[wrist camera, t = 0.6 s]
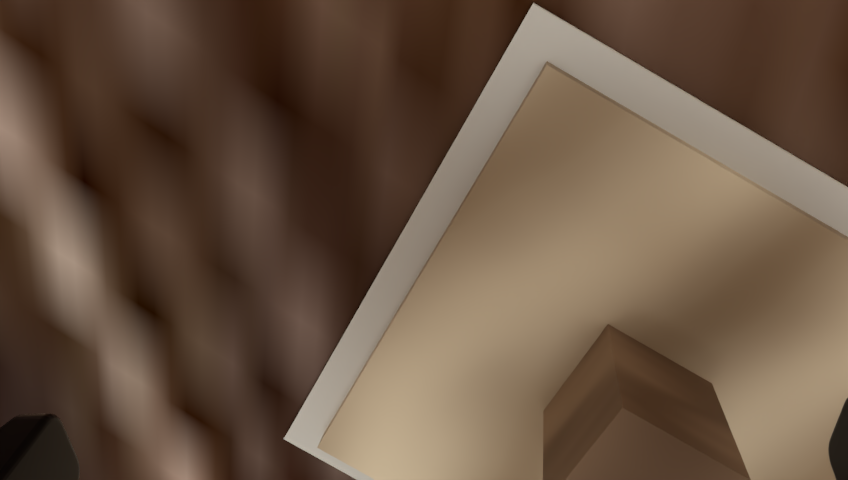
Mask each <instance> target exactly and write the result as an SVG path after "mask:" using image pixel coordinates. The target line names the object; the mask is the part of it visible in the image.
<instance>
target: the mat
mask: <svg viewBox="0 0 848 480" xmlns="http://www.w3.org/2000/svg"><path fill="white" fill-rule="evenodd" d="M547 61H548V62H549V63H551V64H553V65H554V66H556V67H558V68H560V69H561V70H563V71H565V72H566V73H568V74H570V75H572V76H573V77H575V78H577V79H578V80H580V81H582V82H584V83H585V84H587V85H589V86H590V87H592V88H594V89H596V90H597V91H599V92H601V93H602V94H604V95H606V96H608V97H609V98H611V99H613V100H614V101H616V102H618V103H620V104H621V105H623V106H625V107H626V108H628V109H630V110H632V111H633V112H635V113H637V114H638V115H640V116H642V117H643V118H645V119H647V120H649V121H650V122H652V123H654V124H655V125H657V126H659V127H661V128H662V129H664V130H666V131H667V132H669V133H671V134H673V135H674V136H676V137H678V138H679V139H681V140H683V141H685V142H686V143H688V144H690V145H691V146H693V147H695V148H697V149H698V150H700V151H702V152H703V153H705V154H707V155H709V156H710V157H712V158H714V159H715V160H717V161H719V162H721V163H722V164H724V165H726V166H727V167H729V168H731V169H733V170H734V171H736V172H738V173H739V174H741V175H743V176H745V177H746V178H748V179H750V180H751V181H753V182H755V183H756V184H758V185H760V186H762V187H763V188H765V189H767V190H768V191H770V192H772V193H774V194H775V195H777V196H779V197H780V198H782V199H784V200H786V201H787V202H789V203H791V204H792V205H794V206H796V207H798V208H799V209H801V210H803V211H804V212H806V213H808V214H810V215H811V216H813V217H815V218H816V219H818V220H820V221H822V222H823V223H825V224H827V225H828V226H830V227H832V228H834V229H835V230H837V231H839V232H840V233H842V234H844V235H846V236H847V237H848V187H847V186H845V185H844V184H842V183H840V182H838V181H837V180H835V179H833V178H832V177H830V176H828V175H827V174H825V173H823V172H821V171H820V170H818V169H816V168H815V167H813V166H811V165H809V164H808V163H806V162H804V161H803V160H801V159H799V158H798V157H796V156H794V155H792V154H791V153H789V152H787V151H786V150H784V149H782V148H781V147H779V146H777V145H775V144H774V143H772V142H770V141H769V140H767V139H765V138H763V137H762V136H760V135H758V134H757V133H755V132H753V131H752V130H750V129H748V128H746V127H745V126H743V125H741V124H740V123H738V122H736V121H735V120H733V119H731V118H729V117H728V116H726V115H724V114H723V113H721V112H719V111H717V110H716V109H714V108H712V107H711V106H709V105H707V104H706V103H704V102H702V101H700V100H699V99H697V98H695V97H694V96H692V95H690V94H689V93H687V92H685V91H683V90H682V89H680V88H678V87H677V86H675V85H673V84H671V83H670V82H668V81H666V80H665V79H663V78H661V77H660V76H658V75H656V74H654V73H653V72H651V71H649V70H648V69H646V68H644V67H643V66H641V65H639V64H637V63H636V62H634V61H632V60H631V59H629V58H627V57H625V56H624V55H622V54H620V53H619V52H617V51H615V50H614V49H612V48H610V47H608V46H607V45H605V44H603V43H602V42H600V41H598V40H597V39H595V38H593V37H591V36H590V35H588V34H586V33H585V32H583V31H581V30H579V29H578V28H576V27H574V26H573V25H571V24H569V23H568V22H566V21H564V20H562V19H561V18H559V17H557V16H556V15H554V14H552V13H551V12H549V11H547V10H545V9H544V8H542V7H540V6H539V5H537V4H535V3H533V4H532V6H531V8H530V9H529V11H528V13H527V15H526V16H525V18H524V20H523V22H522V23H521V25H520V27H519V29H518V30H517V32H516V34H515V36H514V37H513V39H512V41H511V43H510V44H509V46H508V48H507V50H506V51H505V53H504V55H503V57H502V58H501V60H500V62H499V64H498V65H497V67H496V69H495V71H494V72H493V74H492V76H491V78H490V79H489V81H488V83H487V85H486V86H485V88H484V90H483V92H482V93H481V95H480V97H479V99H478V100H477V102H476V104H475V106H474V107H473V109H472V111H471V113H470V114H469V116H468V118H467V120H466V121H465V123H464V125H463V126H462V128H461V130H460V132H459V133H458V135H457V137H456V139H455V140H454V142H453V144H452V146H451V147H450V149H449V151H448V153H447V154H446V156H445V158H444V160H443V161H442V163H441V165H440V167H439V168H438V170H437V172H436V174H435V175H434V177H433V179H432V181H431V182H430V184H429V186H428V188H427V189H426V191H425V193H424V195H423V196H422V198H421V200H420V202H419V203H418V205H417V207H416V209H415V210H414V212H413V214H412V216H411V217H410V219H409V221H408V223H407V224H406V226H405V228H404V230H403V231H402V233H401V235H400V237H399V238H398V240H397V242H396V244H395V245H394V247H393V249H392V251H391V252H390V254H389V256H388V258H387V259H386V261H385V263H384V265H383V266H382V268H381V270H380V272H379V273H378V275H377V277H376V279H375V280H374V282H373V284H372V286H371V287H370V289H369V291H368V293H367V294H366V296H365V298H364V299H363V301H362V303H361V305H360V306H359V308H358V310H357V312H356V313H355V315H354V317H353V319H352V320H351V322H350V324H349V326H348V327H347V329H346V331H345V333H344V334H343V336H342V338H341V340H340V341H339V343H338V345H337V347H336V348H335V350H334V352H333V354H332V355H331V357H330V359H329V361H328V362H327V364H326V366H325V368H324V369H323V371H322V373H321V375H320V376H319V378H318V380H317V382H316V383H315V385H314V387H313V389H312V390H311V392H310V394H309V396H308V397H307V399H306V401H305V403H304V404H303V406H302V408H301V410H300V411H299V413H298V415H297V417H296V418H295V420H294V422H293V424H292V425H291V427H290V429H289V431H288V432H287V434H286V436H285V438H284V440H286V441H288V442H290V443H292V444H293V445H295V446H297V447H299V448H301V449H302V450H304V451H306V452H308V453H310V454H311V455H313V456H315V457H317V458H319V459H320V460H322V461H324V462H326V463H328V464H329V465H331V466H333V467H335V468H337V469H338V470H340V471H342V472H344V473H346V474H347V475H349V476H351V477H353V478H355V479H356V480H374V479H373V478H371V477H369V476H367V475H365V474H364V473H362V472H360V471H358V470H356V469H355V468H353V467H351V466H349V465H347V464H346V463H344V462H342V461H340V460H338V459H337V458H335V457H333V456H331V455H329V454H328V453H326V452H324V451H322V450H320V449H319V448H317V447H318V445H319V443H320V441H321V439H322V436H323V434H324V432H325V431H326V429H327V427H328V426H329V424H330V422H331V421H332V419H333V417H334V416H335V414H336V412H337V411H338V409H339V407H340V406H341V404H342V402H343V401H344V399H345V397H346V396H347V394H348V392H349V391H350V389H351V387H352V386H353V384H354V382H355V381H356V379H357V377H358V376H359V374H360V372H361V371H362V369H363V367H364V366H365V364H366V362H367V361H368V359H369V357H370V356H371V354H372V352H373V350H374V349H375V347H376V345H377V344H378V342H379V340H380V339H381V337H382V335H383V334H384V332H385V330H386V329H387V327H388V325H389V324H390V322H391V320H392V319H393V317H394V315H395V314H396V312H397V310H398V309H399V307H400V305H401V304H402V302H403V300H404V299H405V297H406V295H407V294H408V292H409V290H410V289H411V287H412V285H413V284H414V282H415V280H416V279H417V277H418V275H419V274H420V272H421V270H422V269H423V267H424V265H425V264H426V262H427V260H428V259H429V257H430V255H431V254H432V252H433V250H434V249H435V247H436V245H437V244H438V242H439V240H440V239H441V237H442V235H443V234H444V232H445V230H446V229H447V227H448V225H449V224H450V222H451V220H452V219H453V217H454V215H455V214H456V212H457V210H458V209H459V207H460V205H461V204H462V202H463V200H464V199H465V197H466V195H467V194H468V192H469V190H470V189H471V187H472V185H473V184H474V182H475V180H476V179H477V177H478V175H479V173H480V172H481V170H482V168H483V167H484V165H485V163H486V162H487V160H488V158H489V157H490V155H491V153H492V152H493V150H494V148H495V147H496V145H497V143H498V142H499V140H500V138H501V137H502V135H503V133H504V132H505V130H506V128H507V127H508V125H509V123H510V122H511V120H512V118H513V117H514V115H515V113H516V112H517V110H518V108H519V107H520V105H521V103H522V102H523V100H524V98H525V97H526V95H527V93H528V92H529V90H530V88H531V87H532V85H533V83H534V82H535V80H536V78H537V77H538V75H539V73H540V72H541V70H542V68H543V67H544V65H545V63H546V62H547Z"/></svg>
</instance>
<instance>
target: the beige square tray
mask: <svg viewBox="0 0 848 480" xmlns="http://www.w3.org/2000/svg"><path fill="white" fill-rule="evenodd" d="M847 398H848V237H847V236H846V235H844V234H842V233H840V232H839V231H837V230H835V229H834V228H832V227H830V226H828V225H827V224H825V223H823V222H822V221H820V220H818V219H816V218H815V217H813V216H811V215H810V214H808V213H806V212H804V211H803V210H801V209H799V208H798V207H796V206H794V205H792V204H791V203H789V202H787V201H786V200H784V199H782V198H780V197H779V196H777V195H775V194H774V193H772V192H770V191H768V190H767V189H765V188H763V187H762V186H760V185H758V184H756V183H755V182H753V181H751V180H750V179H748V178H746V177H745V176H743V175H741V174H739V173H738V172H736V171H734V170H733V169H731V168H729V167H727V166H726V165H724V164H722V163H721V162H719V161H717V160H715V159H714V158H712V157H710V156H709V155H707V154H705V153H703V152H702V151H700V150H698V149H697V148H695V147H693V146H691V145H690V144H688V143H686V142H685V141H683V140H681V139H679V138H678V137H676V136H674V135H673V134H671V133H669V132H667V131H666V130H664V129H662V128H661V127H659V126H657V125H655V124H654V123H652V122H650V121H649V120H647V119H645V118H643V117H642V116H640V115H638V114H637V113H635V112H633V111H632V110H630V109H628V108H626V107H625V106H623V105H621V104H620V103H618V102H616V101H614V100H613V99H611V98H609V97H608V96H606V95H604V94H602V93H601V92H599V91H597V90H596V89H594V88H592V87H590V86H589V85H587V84H585V83H584V82H582V81H580V80H578V79H577V78H575V77H573V76H572V75H570V74H568V73H566V72H565V71H563V70H561V69H560V68H558V67H556V66H554V65H553V64H551V63H549V62H548V61H547V62H546V63H545V65H544V67H543V68H542V70H541V72H540V73H539V75H538V77H537V78H536V80H535V82H534V83H533V85H532V87H531V88H530V90H529V92H528V93H527V95H526V97H525V98H524V100H523V102H522V103H521V105H520V107H519V108H518V110H517V112H516V113H515V115H514V117H513V118H512V120H511V122H510V123H509V125H508V127H507V128H506V130H505V132H504V133H503V135H502V137H501V138H500V140H499V142H498V143H497V145H496V147H495V148H494V150H493V152H492V153H491V155H490V157H489V158H488V160H487V162H486V163H485V165H484V167H483V168H482V170H481V172H480V173H479V175H478V177H477V179H476V180H475V182H474V184H473V185H472V187H471V189H470V190H469V192H468V194H467V195H466V197H465V199H464V200H463V202H462V204H461V205H460V207H459V209H458V210H457V212H456V214H455V215H454V217H453V219H452V220H451V222H450V224H449V225H448V227H447V229H446V230H445V232H444V234H443V235H442V237H441V239H440V240H439V242H438V244H437V245H436V247H435V249H434V250H433V252H432V254H431V255H430V257H429V259H428V260H427V262H426V264H425V265H424V267H423V269H422V270H421V272H420V274H419V275H418V277H417V279H416V280H415V282H414V284H413V285H412V287H411V289H410V290H409V292H408V294H407V295H406V297H405V299H404V300H403V302H402V304H401V305H400V307H399V309H398V310H397V312H396V314H395V315H394V317H393V319H392V320H391V322H390V324H389V325H388V327H387V329H386V330H385V332H384V334H383V335H382V337H381V339H380V340H379V342H378V344H377V345H376V347H375V349H374V350H373V352H372V354H371V356H370V357H369V359H368V361H367V362H366V364H365V366H364V367H363V369H362V371H361V372H360V374H359V376H358V377H357V379H356V381H355V382H354V384H353V386H352V387H351V389H350V391H349V392H348V394H347V396H346V397H345V399H344V401H343V402H342V404H341V406H340V407H339V409H338V411H337V412H336V414H335V416H334V417H333V419H332V421H331V422H330V424H329V426H328V427H327V429H326V431H325V432H324V434H323V436H322V439H321V441H320V443H319V445H318V447H317V448H319V449H320V450H322V451H324V452H326V453H328V454H329V455H331V456H333V457H335V458H337V459H338V460H340V461H342V462H344V463H346V464H347V465H349V466H351V467H353V468H355V469H356V470H358V471H360V472H362V473H364V474H365V475H367V476H369V477H371V478H373V479H374V480H836V478H835V475H834V472H833V470H832V467H831V463H830V460H829V453H828V447H829V441H830V438H831V435H832V433H833V430H834V428H835V425H836V423H837V420H838V418H839V415H840V413H841V410H842V408H843V405H844V403H845V401H846V399H847Z"/></svg>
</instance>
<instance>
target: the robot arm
mask: <svg viewBox="0 0 848 480" xmlns="http://www.w3.org/2000/svg"><path fill="white" fill-rule="evenodd" d="M828 453H829V460H830V463H831V467H832V470H833V472H834V475H835V478H836V480H848V398H847V399H846V401H845V403H844V405H843V408H842V410H841V413H840V415H839V418H838V420H837V423H836V425H835V428H834V430H833V433H832V435H831V438H830V441H829V447H828ZM0 480H79V462H78V458H77V456H76V454H75V451H74V449H73V447H72V444H71V442H70V440H69V437H68V435H67V433H66V431H65V428H64V426H63V424H62V422H61V420H60V418H58V417H57V416H56V415H55V414H50V413H49V414H22V415H18V416H16V417H14V418H13V419H11V420H10V421H9V422H7V423H6V424H5V425H3V426H2V427H1V428H0Z"/></svg>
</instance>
